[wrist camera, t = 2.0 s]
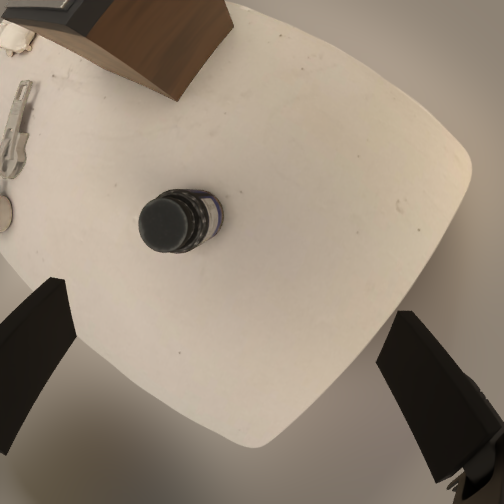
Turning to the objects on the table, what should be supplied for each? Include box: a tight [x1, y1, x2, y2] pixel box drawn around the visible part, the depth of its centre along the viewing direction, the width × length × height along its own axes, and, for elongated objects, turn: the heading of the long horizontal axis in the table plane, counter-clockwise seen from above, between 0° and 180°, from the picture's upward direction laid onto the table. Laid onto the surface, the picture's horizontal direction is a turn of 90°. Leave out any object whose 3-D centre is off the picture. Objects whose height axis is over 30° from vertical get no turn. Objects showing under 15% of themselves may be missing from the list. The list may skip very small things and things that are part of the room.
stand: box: [17, 0, 234, 101], centre depth 21 cm, size 15×13×19 cm
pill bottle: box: [139, 189, 224, 254], centre depth 28 cm, size 6×6×11 cm
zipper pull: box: [0, 80, 33, 179], centre depth 33 cm, size 8×18×4 cm, turn 163°
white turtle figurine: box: [0, 22, 35, 57], centre depth 27 cm, size 9×8×15 cm
